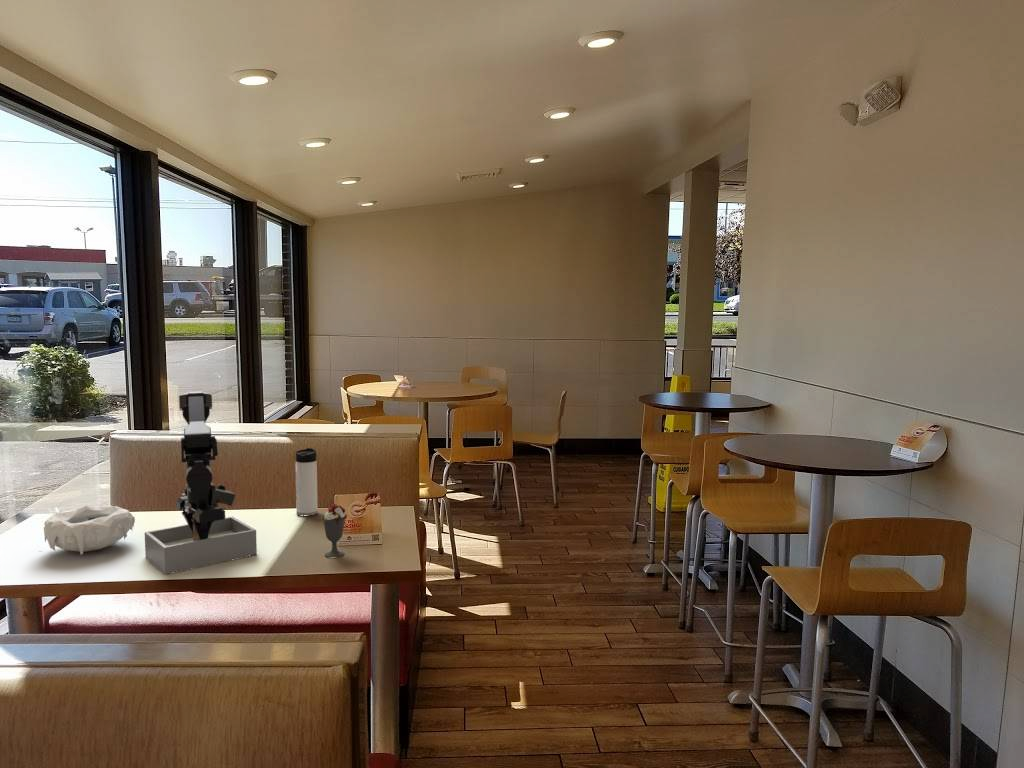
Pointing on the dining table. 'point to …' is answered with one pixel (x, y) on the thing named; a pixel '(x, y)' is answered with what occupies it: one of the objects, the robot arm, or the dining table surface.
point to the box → (199, 545)
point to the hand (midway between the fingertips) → (201, 541)
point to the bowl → (88, 528)
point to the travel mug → (306, 482)
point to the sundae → (334, 527)
